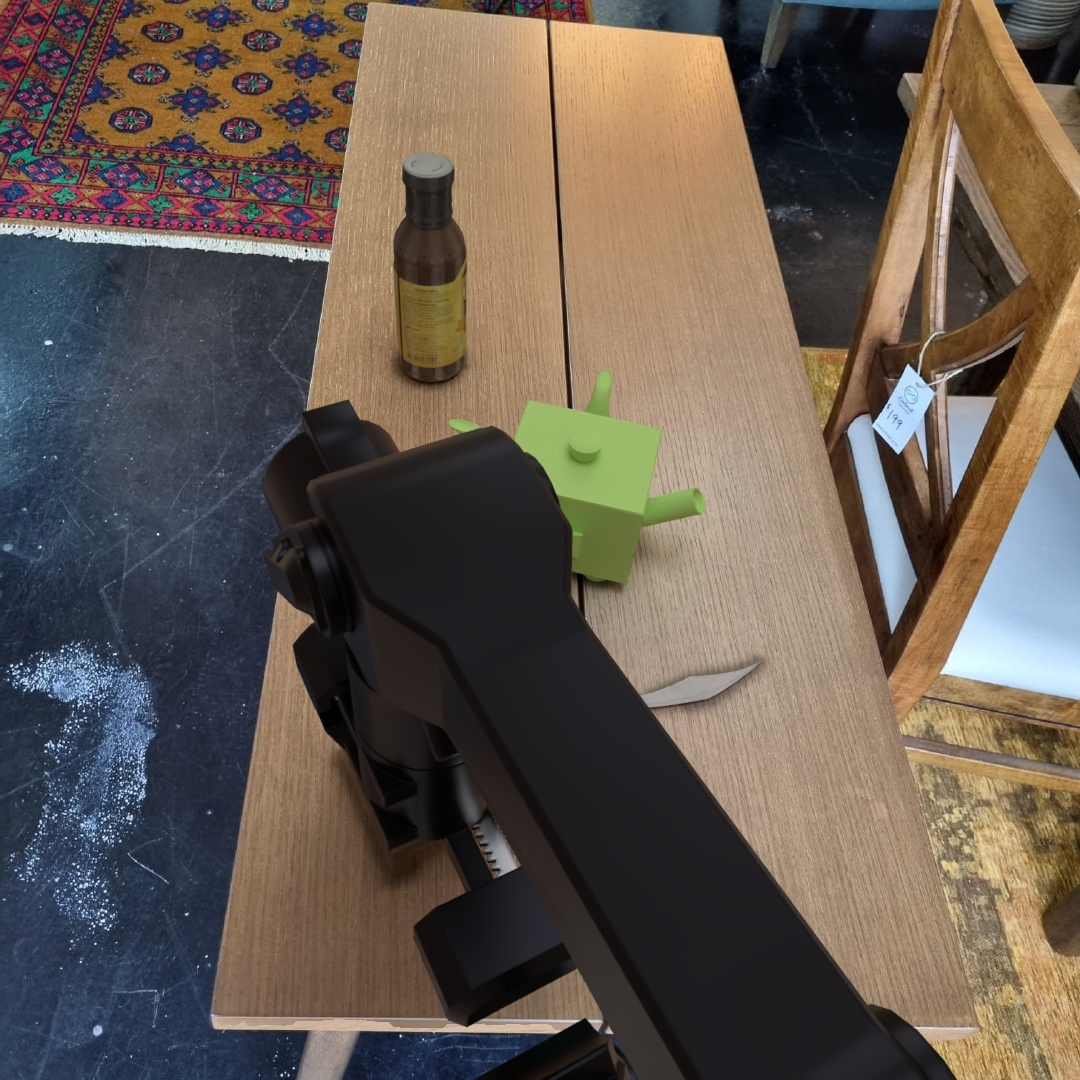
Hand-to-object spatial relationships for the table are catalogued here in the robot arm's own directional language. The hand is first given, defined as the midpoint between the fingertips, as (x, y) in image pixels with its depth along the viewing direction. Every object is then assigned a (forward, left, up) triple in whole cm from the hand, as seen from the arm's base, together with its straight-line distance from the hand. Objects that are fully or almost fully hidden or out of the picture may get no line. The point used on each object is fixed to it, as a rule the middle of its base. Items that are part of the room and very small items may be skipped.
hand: (430, 858), depth 50 cm
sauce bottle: (+48, -21, -13) cm, 54 cm away
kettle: (+25, -23, -13) cm, 36 cm away
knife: (+10, -21, -13) cm, 26 cm away
